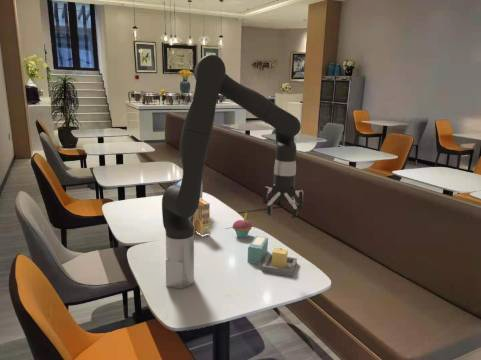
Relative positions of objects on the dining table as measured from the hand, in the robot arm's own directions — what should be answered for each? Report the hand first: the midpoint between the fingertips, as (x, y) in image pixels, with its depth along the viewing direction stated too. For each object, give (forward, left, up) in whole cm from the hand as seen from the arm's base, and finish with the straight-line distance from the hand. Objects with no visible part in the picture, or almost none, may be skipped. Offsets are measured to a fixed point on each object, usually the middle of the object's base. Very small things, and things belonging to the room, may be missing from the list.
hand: (281, 216), depth 135 cm
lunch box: (+36, +54, -20) cm, 68 cm away
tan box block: (0, 0, -19) cm, 19 cm away
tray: (0, 0, -20) cm, 20 cm away
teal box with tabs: (+6, +10, -20) cm, 23 cm away
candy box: (+20, +40, -20) cm, 49 cm away
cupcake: (+24, +22, -20) cm, 38 cm away
